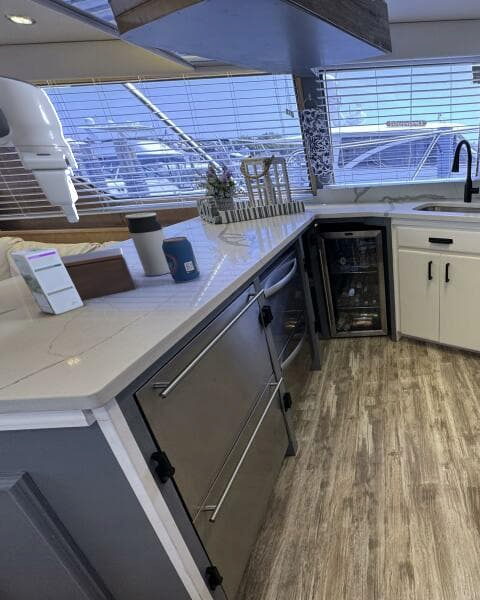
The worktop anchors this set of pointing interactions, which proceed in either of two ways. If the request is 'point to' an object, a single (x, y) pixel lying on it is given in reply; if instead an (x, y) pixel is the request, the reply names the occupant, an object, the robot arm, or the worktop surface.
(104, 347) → the worktop surface
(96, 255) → the chest lid
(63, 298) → the syrup box
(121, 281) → the chest
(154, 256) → the travel mug
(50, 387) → the worktop surface
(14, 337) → the worktop surface
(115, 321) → the worktop surface
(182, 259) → the soda can
